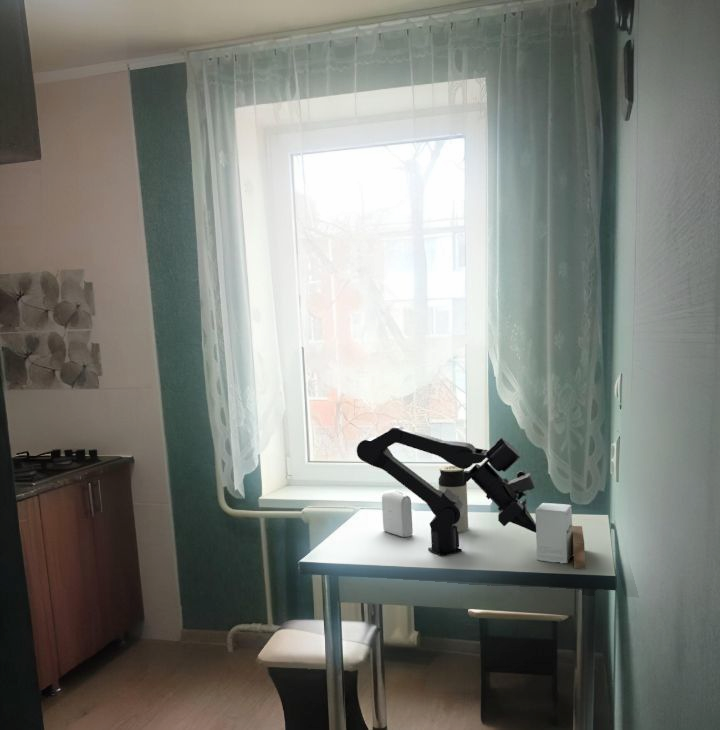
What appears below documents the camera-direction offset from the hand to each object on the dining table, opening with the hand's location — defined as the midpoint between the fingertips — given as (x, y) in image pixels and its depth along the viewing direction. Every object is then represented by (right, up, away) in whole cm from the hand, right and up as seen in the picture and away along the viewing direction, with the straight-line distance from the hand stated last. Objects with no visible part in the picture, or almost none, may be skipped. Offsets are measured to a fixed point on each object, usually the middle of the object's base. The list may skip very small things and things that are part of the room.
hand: (537, 531), depth 153 cm
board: (+9, -6, -3) cm, 11 cm away
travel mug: (-16, -7, +26) cm, 32 cm away
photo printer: (-33, -8, +25) cm, 42 cm away
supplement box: (+4, -6, -1) cm, 8 cm away
